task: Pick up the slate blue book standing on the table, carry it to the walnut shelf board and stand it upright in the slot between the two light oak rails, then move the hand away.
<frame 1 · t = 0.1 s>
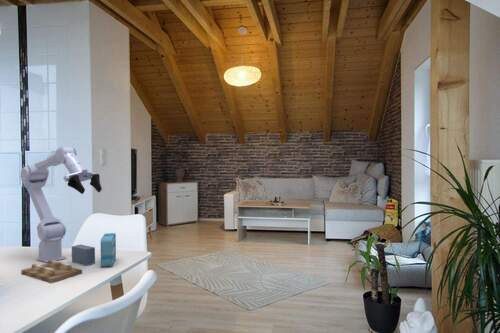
hand: (91, 191, 139), 32 cm above the table, tool tilted 50°, fingers open, 7 cm apart
slate blue book: (83, 262, 149), on the table
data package: (108, 263, 148), on the table
shelf board: (51, 273, 135), on the table
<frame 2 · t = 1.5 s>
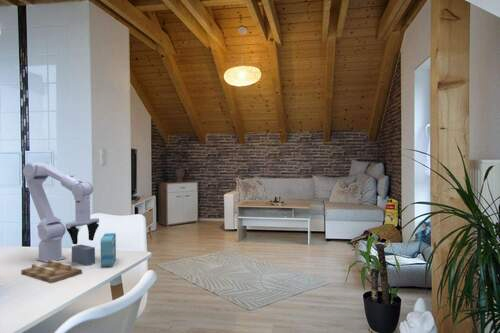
hand: (83, 242, 149), 9 cm above the table, tool pointing down, fingers open, 7 cm apart
nothing on the table moved.
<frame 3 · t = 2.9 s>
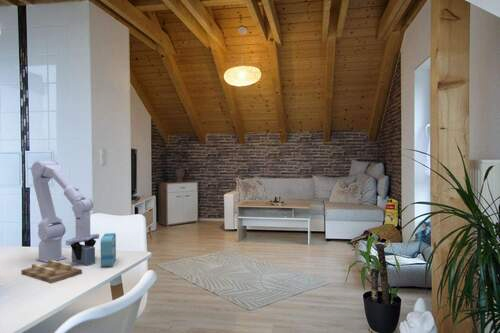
hand: (83, 258, 149), 2 cm above the table, tool pointing down, fingers closed on slate blue book, 4 cm apart
slate blue book: (83, 262, 149), on the table, touching gripper
everything else where it was.
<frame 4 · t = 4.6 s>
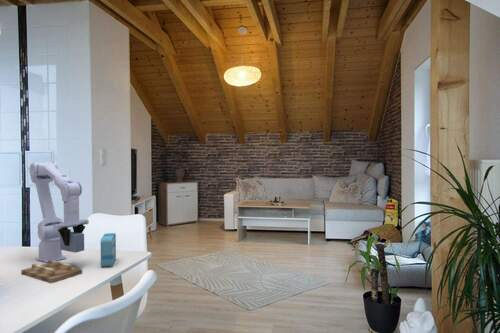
hand: (71, 244, 143), 9 cm above the table, tool pointing down, fingers closed on slate blue book, 4 cm apart
slate blue book: (72, 250, 143), point 7 cm above the table, touching gripper
everything else where it was.
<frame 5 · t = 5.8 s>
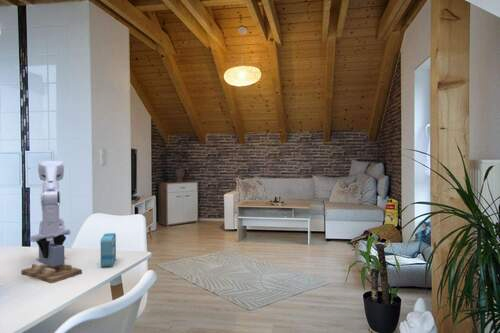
hand: (51, 256, 135), 7 cm above the table, tool pointing down, fingers closed on slate blue book, 4 cm apart
slate blue book: (51, 263, 135), point 4 cm above the table, touching gripper
everything else where it was.
when the fingers open (4 cm above the table, at t = 6.7 s): slate blue book stays where it is, resting on shelf board.
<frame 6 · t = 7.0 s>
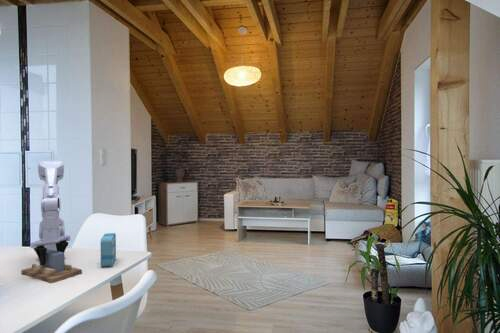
hand: (51, 262, 135), 4 cm above the table, tool pointing down, fingers open, 6 cm apart
slate blue book: (51, 269, 135), point 1 cm above the table, touching shelf board
everything else where it was.
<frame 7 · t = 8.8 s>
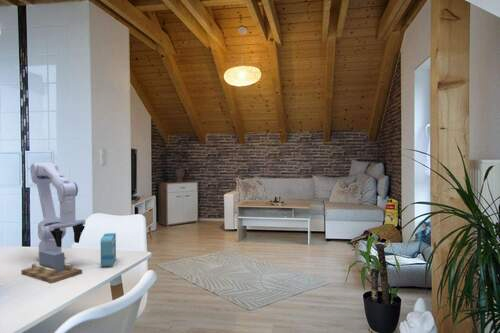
hand: (68, 244, 143), 9 cm above the table, tool pointing down, fingers open, 7 cm apart
nothing on the table moved.
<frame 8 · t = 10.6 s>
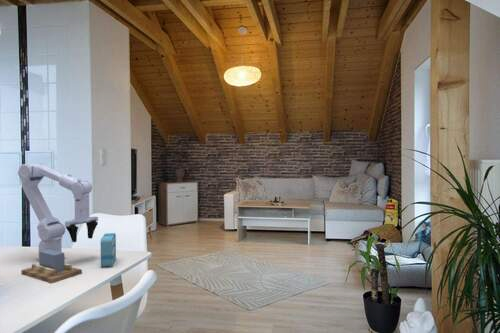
hand: (82, 240, 150), 9 cm above the table, tool pointing down, fingers open, 7 cm apart
nothing on the table moved.
at the end: slate blue book 0.2 cm off-centre on the shelf board, point 1.5 cm above the shelf board's base; slate blue book tilted 0°; the gripper is holding nothing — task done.
